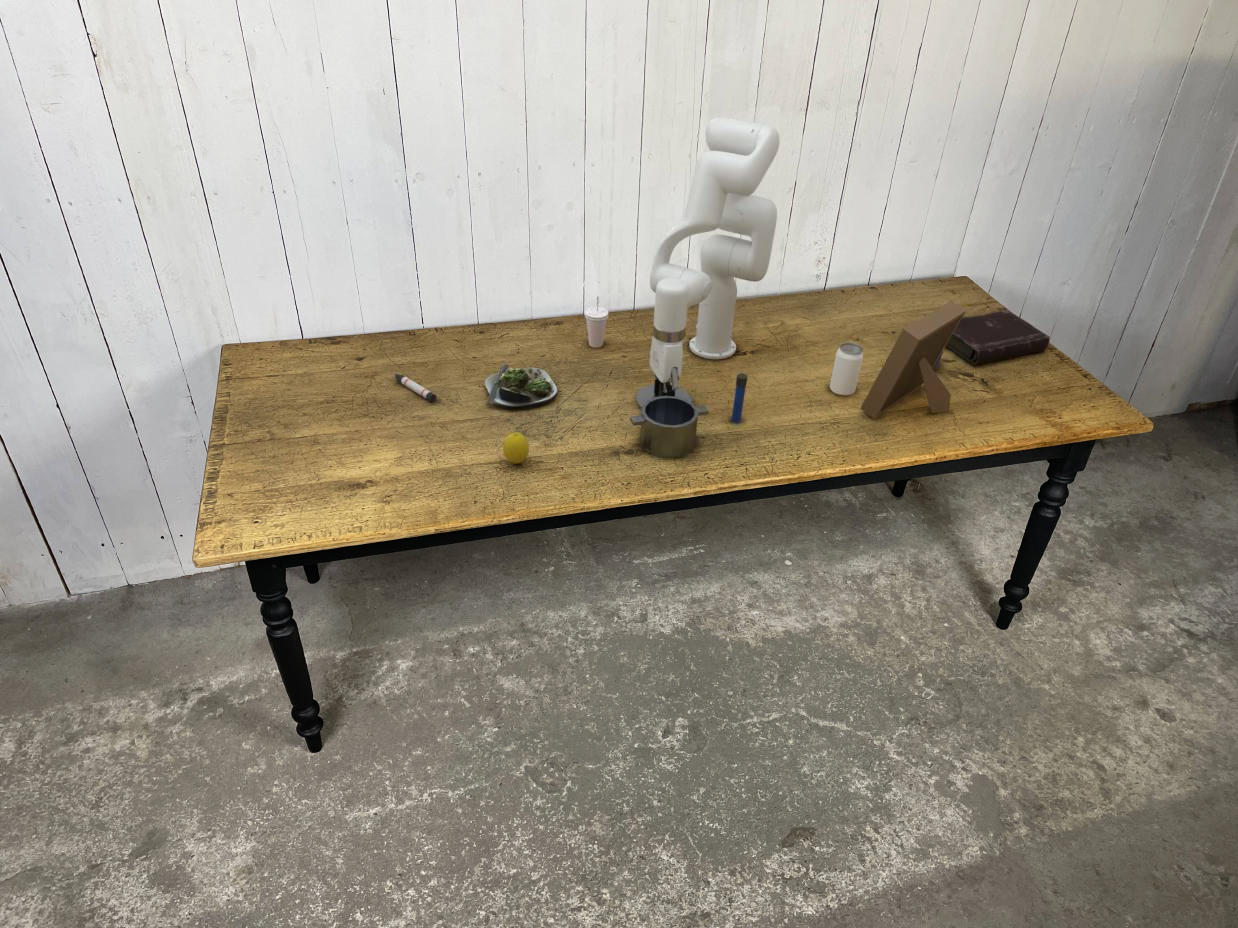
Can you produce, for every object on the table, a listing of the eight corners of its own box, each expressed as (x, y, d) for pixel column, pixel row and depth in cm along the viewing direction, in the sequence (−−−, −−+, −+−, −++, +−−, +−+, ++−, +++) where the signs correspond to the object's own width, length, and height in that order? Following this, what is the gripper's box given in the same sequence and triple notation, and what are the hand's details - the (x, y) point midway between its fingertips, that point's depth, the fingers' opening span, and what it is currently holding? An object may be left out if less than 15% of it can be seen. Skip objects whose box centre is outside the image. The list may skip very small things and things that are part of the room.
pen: (729, 418, 207) (735, 374, 199) (738, 417, 208) (744, 372, 200) (733, 424, 205) (739, 379, 198) (742, 422, 206) (749, 377, 198)
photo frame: (859, 412, 211) (881, 320, 196) (905, 381, 224) (929, 292, 209) (913, 438, 203) (940, 344, 188) (958, 404, 215) (987, 314, 200)
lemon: (504, 455, 192) (502, 426, 187) (529, 455, 192) (528, 425, 188) (503, 471, 188) (501, 441, 183) (529, 470, 188) (528, 440, 183)
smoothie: (611, 341, 236) (612, 294, 227) (602, 352, 231) (604, 304, 222) (589, 336, 237) (589, 289, 229) (580, 347, 232) (581, 299, 224)
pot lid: (628, 392, 215) (629, 372, 212) (679, 384, 219) (681, 365, 215) (646, 421, 205) (647, 401, 201) (699, 413, 208) (701, 393, 205)
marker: (436, 400, 209) (436, 393, 208) (430, 403, 208) (429, 396, 207) (398, 376, 217) (397, 369, 216) (391, 379, 216) (391, 372, 215)
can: (855, 398, 216) (865, 356, 209) (829, 394, 217) (837, 352, 210) (854, 385, 221) (864, 343, 214) (829, 381, 222) (838, 340, 215)
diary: (1046, 352, 238) (1052, 336, 235) (974, 368, 230) (980, 351, 227) (998, 323, 252) (1003, 307, 249) (929, 336, 244) (934, 320, 241)
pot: (621, 432, 201) (623, 401, 196) (693, 421, 205) (696, 391, 200) (639, 463, 191) (640, 432, 186) (714, 451, 196) (717, 420, 191)
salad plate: (473, 375, 219) (472, 359, 216) (541, 364, 224) (541, 349, 221) (491, 415, 204) (490, 399, 202) (563, 403, 210) (563, 387, 207)
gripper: (642, 317, 205) (638, 383, 216) (666, 351, 193) (661, 419, 203) (671, 313, 207) (666, 379, 218) (697, 347, 195) (690, 414, 205)
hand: (663, 397), depth 211 cm, fingers open, 4 cm apart
